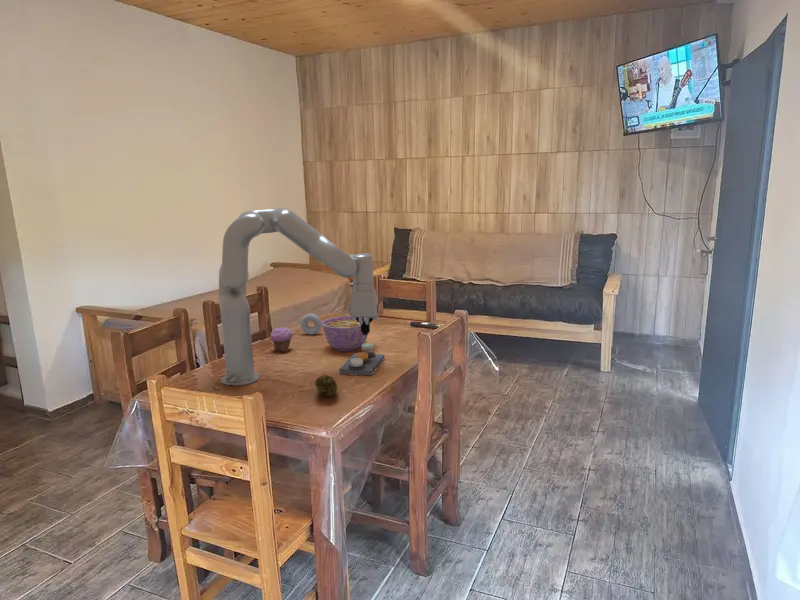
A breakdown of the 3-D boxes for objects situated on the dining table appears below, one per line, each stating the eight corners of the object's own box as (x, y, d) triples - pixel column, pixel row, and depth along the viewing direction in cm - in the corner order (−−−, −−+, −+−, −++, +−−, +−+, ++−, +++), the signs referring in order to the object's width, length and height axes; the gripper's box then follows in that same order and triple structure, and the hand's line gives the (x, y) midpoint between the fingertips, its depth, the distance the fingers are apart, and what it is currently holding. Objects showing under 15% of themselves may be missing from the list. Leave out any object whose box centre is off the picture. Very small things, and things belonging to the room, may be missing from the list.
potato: (344, 389, 190) (343, 366, 188) (334, 404, 177) (333, 380, 175) (320, 388, 191) (319, 365, 189) (309, 403, 178) (307, 379, 177)
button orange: (366, 361, 209) (366, 356, 208) (355, 360, 210) (354, 355, 209) (369, 357, 213) (369, 352, 212) (358, 356, 214) (358, 351, 213)
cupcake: (267, 353, 231) (266, 329, 229) (277, 347, 239) (275, 324, 237) (287, 354, 229) (286, 330, 227) (296, 348, 237) (295, 325, 235)
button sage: (371, 351, 215) (371, 346, 214) (360, 351, 216) (360, 346, 215) (374, 348, 219) (374, 343, 219) (363, 347, 220) (363, 342, 220)
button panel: (370, 376, 201) (370, 369, 200) (338, 374, 204) (338, 367, 203) (384, 359, 220) (384, 352, 219) (355, 357, 223) (355, 351, 222)
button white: (360, 367, 202) (360, 362, 201) (349, 366, 203) (349, 361, 202) (364, 363, 206) (364, 358, 206) (352, 362, 207) (352, 357, 207)
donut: (299, 335, 256) (298, 314, 254) (301, 333, 259) (300, 312, 257) (321, 335, 255) (320, 314, 253) (323, 333, 258) (322, 312, 256)
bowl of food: (377, 352, 229) (377, 324, 227) (330, 358, 222) (328, 330, 220) (362, 339, 247) (361, 314, 245) (318, 345, 240) (316, 319, 238)
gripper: (341, 288, 208) (343, 336, 212) (380, 289, 204) (381, 337, 208) (347, 284, 215) (350, 330, 219) (385, 285, 211) (387, 332, 215)
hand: (365, 334), depth 214 cm, fingers closed
